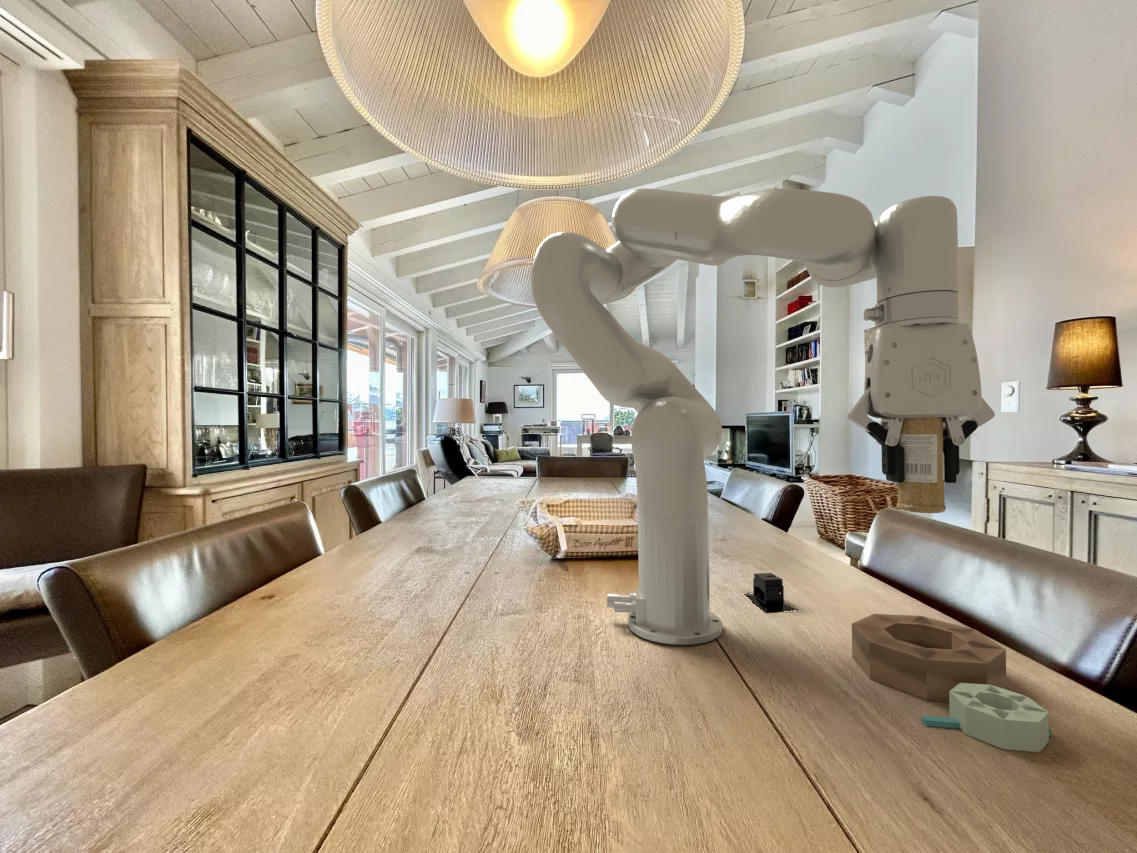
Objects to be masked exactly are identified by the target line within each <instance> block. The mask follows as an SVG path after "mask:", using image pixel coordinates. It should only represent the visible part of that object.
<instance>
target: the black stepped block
mask: <svg viewBox="0 0 1137 853" xmlns="http://www.w3.org/2000/svg"><path fill="white" fill-rule="evenodd" d="M753 576H754V577H753V578H752V580H753V582H752V583H753V585H752V586H753V591H752V592H753V594H744V595H746V597H748V598H749V599H750V600H751V601H752V603H753V604H752V603H751V604H752V605H754V604H755V605H756V606H757V608H758V607H759V608H760V609H759V608H758V609H759V610H761V611H762V610H763V611H762V612H763V613H764V614H779V612H781V613H785V612H784V611H791V610H792V611H793V610H797V609H798V608H796V607H795V606H793V605H792V604H790V603H789V602H787V601H786V602H787V603H786V602H785V598H784V597H785V595H784V594H785V593H784V591H785V590H784V589H785V588H784V585H783V578H781V577H779V576H777V574H776V575H775V574H774V573H772V572H759V573H756V572H755V573H753ZM788 603H789V604H790V605H789V604H788ZM755 605H754V606H755ZM791 605H792V606H791ZM756 606H755V607H756ZM794 607H795V608H794ZM782 611H783V612H782Z"/></svg>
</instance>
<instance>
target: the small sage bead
mask: <svg viewBox="0 0 1137 853" xmlns="http://www.w3.org/2000/svg"><path fill="white" fill-rule="evenodd" d="M1049 712H1050V711H1048V710H1047V709H1045V708H1044V707H1043V706H1041V705H1039V704H1038V703H1037V702H1036V701H1035V700H1033V699H1032V698H1031V697H1029V696H1027V695H1024V694H1021V693H1018V692H1015V691H1012V690H1008V689H1007V688H1006V689H1003V688H999V687H996V686H993V685H985V684H970V683H960V684H958V685H957V686H955V687H954V688H953V689H951V690H950V691H949V718H956V719H957V720H958V721H959V722H960V728H959V729H960V730H961V731H962V732H963V733H964V734H965V735H966V736H969V737H972V738H974V739H977V740H978V741H979V740H980V741H981V742H983V743H986V744H989V745H992V746H995V747H997V748H999V749H1002V750H1006V751H1019V752H1020V751H1022V752H1031V753H1040V752H1042V750H1043V749H1044V748H1045V747H1046V745H1047V744H1048V743H1049V742H1050V736H1049V728H1050V723H1049V722H1050V720H1049V719H1050V717H1049V715H1050V714H1049Z"/></svg>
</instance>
